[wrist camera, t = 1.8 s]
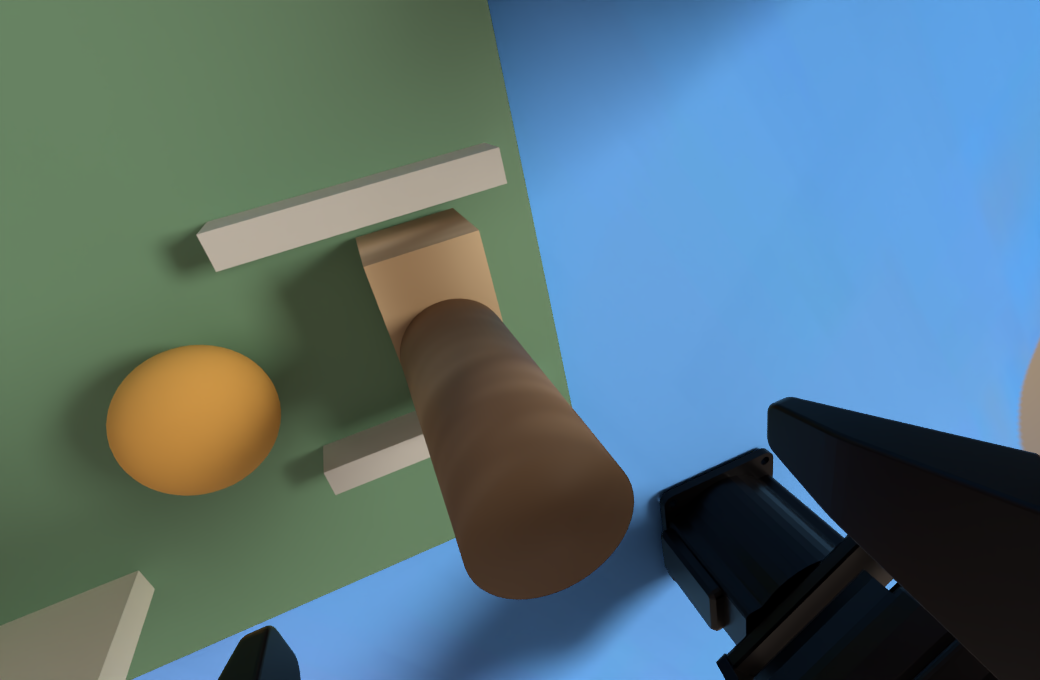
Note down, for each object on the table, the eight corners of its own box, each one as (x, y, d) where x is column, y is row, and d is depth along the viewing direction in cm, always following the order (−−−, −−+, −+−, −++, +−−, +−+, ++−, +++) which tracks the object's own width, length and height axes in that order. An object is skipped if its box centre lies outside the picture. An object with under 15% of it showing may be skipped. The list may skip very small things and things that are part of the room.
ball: (249, 303, 15) (231, 364, 12) (305, 411, 17) (302, 489, 14) (102, 350, 15) (37, 429, 11) (177, 458, 17) (141, 553, 13)
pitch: (458, -82, 14) (484, -112, 12) (577, 466, 24) (603, 503, 22) (-724, 149, 10) (-1018, 164, 8) (11, 709, 19) (-26, 785, 17)
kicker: (452, 207, 16) (610, 342, 7) (498, 371, 19) (649, 602, 10) (355, 237, 15) (404, 420, 7) (418, 401, 18) (508, 673, 10)
